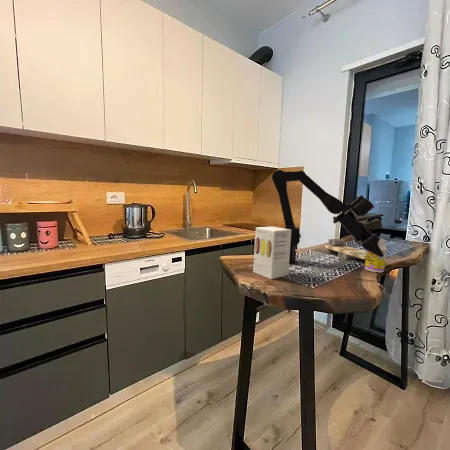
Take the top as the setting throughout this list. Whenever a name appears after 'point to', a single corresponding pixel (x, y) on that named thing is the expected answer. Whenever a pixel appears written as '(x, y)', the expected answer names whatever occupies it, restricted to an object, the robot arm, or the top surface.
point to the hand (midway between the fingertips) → (379, 254)
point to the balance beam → (344, 250)
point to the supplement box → (272, 251)
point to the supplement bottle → (376, 259)
